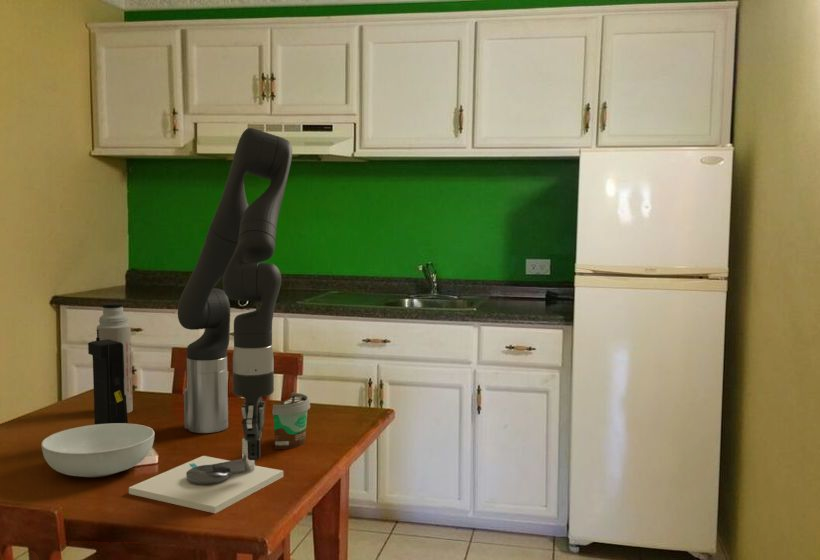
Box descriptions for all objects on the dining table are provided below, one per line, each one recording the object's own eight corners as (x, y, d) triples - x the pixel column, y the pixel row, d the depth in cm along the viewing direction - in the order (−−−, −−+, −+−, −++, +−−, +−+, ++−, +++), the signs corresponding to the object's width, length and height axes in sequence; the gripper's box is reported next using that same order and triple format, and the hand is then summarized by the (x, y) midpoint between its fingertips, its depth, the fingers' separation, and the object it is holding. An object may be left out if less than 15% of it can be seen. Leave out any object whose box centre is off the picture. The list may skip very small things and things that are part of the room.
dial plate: (128, 493, 137) (128, 486, 137) (203, 461, 155) (203, 455, 155) (215, 513, 129) (215, 506, 128) (283, 476, 146) (283, 470, 146)
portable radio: (133, 442, 167) (130, 331, 165) (106, 448, 163) (103, 334, 160) (116, 435, 172) (113, 327, 170) (90, 441, 168) (87, 330, 166)
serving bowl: (175, 457, 158) (174, 425, 157) (114, 493, 137) (113, 457, 137) (88, 449, 162) (87, 418, 162) (17, 483, 142) (15, 448, 141)
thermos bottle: (137, 407, 197) (134, 301, 194) (125, 415, 189) (122, 305, 186) (107, 407, 197) (104, 301, 194) (94, 415, 189) (90, 305, 186)
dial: (194, 487, 136) (194, 455, 136) (180, 474, 143) (180, 443, 142) (262, 473, 144) (262, 443, 143) (246, 462, 150) (246, 432, 150)
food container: (299, 452, 161) (299, 407, 160) (272, 450, 162) (272, 405, 162) (317, 435, 173) (317, 393, 172) (292, 434, 174) (292, 391, 174)
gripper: (269, 376, 134) (270, 470, 136) (277, 361, 147) (277, 447, 149) (227, 377, 134) (228, 471, 135) (238, 361, 147) (239, 448, 149)
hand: (254, 458), depth 142 cm, fingers closed
